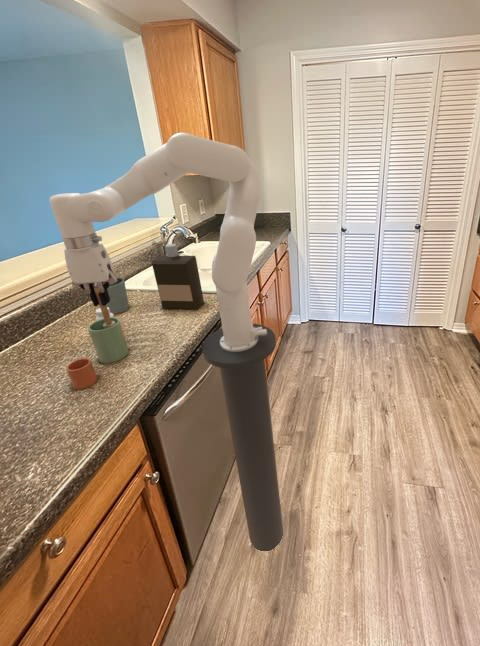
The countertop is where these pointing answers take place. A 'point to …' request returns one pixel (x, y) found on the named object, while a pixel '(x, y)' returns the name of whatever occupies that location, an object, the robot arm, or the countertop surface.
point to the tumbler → (108, 341)
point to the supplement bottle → (100, 315)
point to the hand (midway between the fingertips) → (102, 303)
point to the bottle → (178, 280)
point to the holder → (81, 373)
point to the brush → (104, 310)
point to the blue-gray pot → (117, 297)
